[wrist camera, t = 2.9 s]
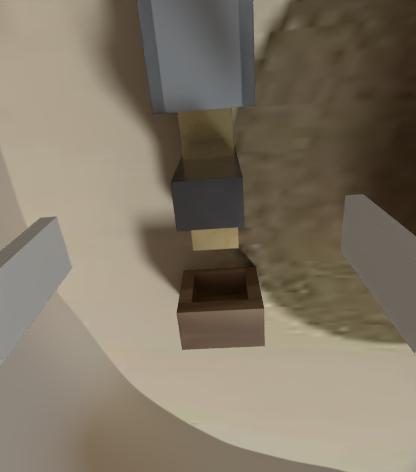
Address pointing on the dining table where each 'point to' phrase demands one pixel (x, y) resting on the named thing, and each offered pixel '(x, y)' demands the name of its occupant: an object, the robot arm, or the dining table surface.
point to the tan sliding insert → (208, 180)
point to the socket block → (220, 309)
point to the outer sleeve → (198, 53)
